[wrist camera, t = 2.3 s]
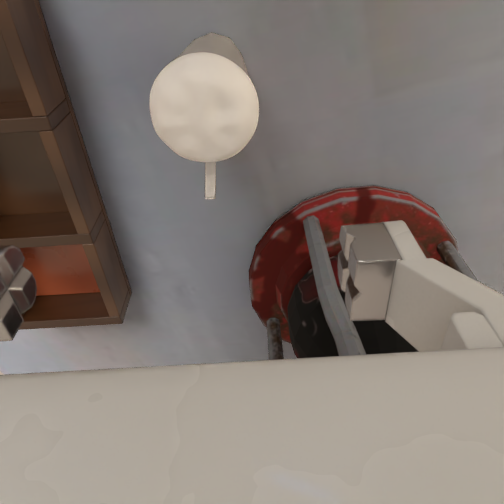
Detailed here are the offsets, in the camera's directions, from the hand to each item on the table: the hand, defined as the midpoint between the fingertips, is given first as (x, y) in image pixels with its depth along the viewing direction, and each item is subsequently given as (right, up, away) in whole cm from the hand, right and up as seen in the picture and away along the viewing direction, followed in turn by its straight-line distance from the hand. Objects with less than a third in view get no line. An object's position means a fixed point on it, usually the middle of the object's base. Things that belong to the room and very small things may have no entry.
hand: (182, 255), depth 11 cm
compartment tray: (-13, +6, +17) cm, 22 cm away
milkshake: (0, +11, +14) cm, 17 cm away
